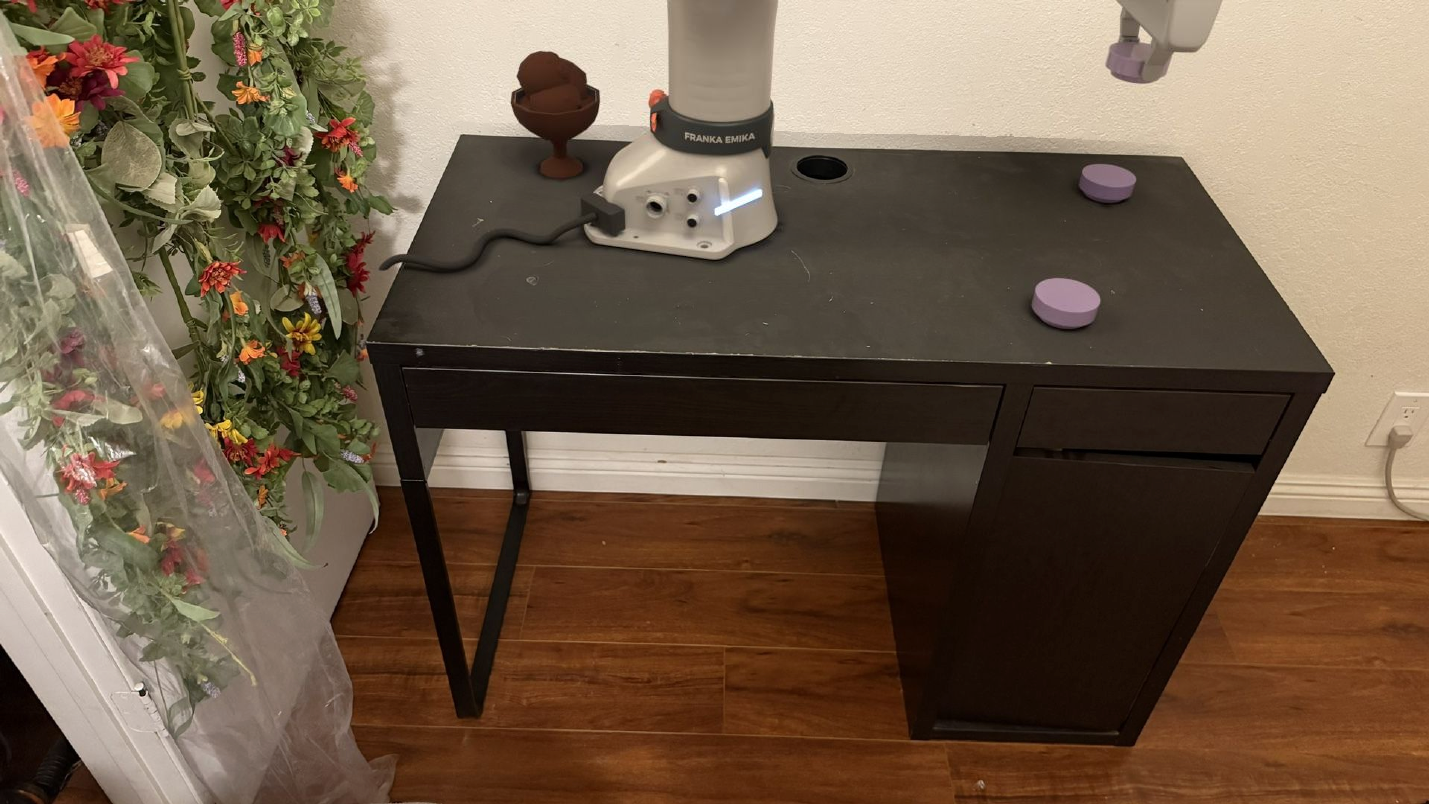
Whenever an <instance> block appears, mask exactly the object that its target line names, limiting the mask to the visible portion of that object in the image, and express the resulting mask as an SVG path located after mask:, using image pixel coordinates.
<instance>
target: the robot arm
mask: <svg viewBox="0 0 1429 804" xmlns="http://www.w3.org/2000/svg"><path fill="white" fill-rule="evenodd" d="M1115 2H1117V4H1118V5H1120V6H1121V7H1122V8H1121V10H1120V13H1119V14H1120V15H1119V37H1118V40H1117V42H1140V41H1141V38H1140V37H1139V34H1140V29H1141V28H1142V29H1143V30H1144V31H1145V32H1146V33H1147V35H1149V37H1150V38H1151V41H1150V43H1149V44H1150V47H1151V50H1150V52H1149V54H1148V56H1147V58H1146V59H1142V62H1141V67H1140V69H1139V75H1140V76H1141V77H1142V79H1143V80H1144V81H1154V82H1157V81H1159V80H1160V79H1161V78H1160V76H1161V73H1162V70H1163V67H1164V65H1165V64H1166V62H1167V61H1168V60H1169V58H1170V57H1171V56H1172V57H1173V55H1174V53H1183V54H1184V53H1185V54H1187V53H1189V54H1192V53H1197V52H1199V51H1200V49H1202V48H1203V46H1204V45H1205V44H1206V42H1207V41H1208V38H1209V37H1210V34H1211V33H1212V29H1213V27H1214V25H1215V22H1216V19H1217V17H1218V15H1219V11H1220V8H1221V6H1222V3H1223V0H1115ZM666 3H667V4H666V5H667V7H666V8H667V35H668V36H667V42H668V43H667V53H668V54H667V58H668V59H667V64H668V66H667V70H668V71H667V72H668V74H667V75H668V76H667V77H668V79H667V81H668V82H667V83H668V94H666V93H665V91H664V90H663V89H660V88H657V89H653V90H652V91H651V93H650V94H649V97H648V103H647V104H648V107H649V131H647V132H646V133H644V134H643V135H641V136H639V137H638V138H637V139H635V140H634V141H632V142H630V143H629V144H628V145H626V146H625V147H623V148H622V149H620V150H618V152H616V154H615V155H613V156H614V157H613V158H612V159H611V161H610V162H609V164H608V167H607V169H606V172H605V175H604V179H603V182H602V183H603V184H602V185H600V186H599V187H598V188H596V189H595V190H594V191H593V192H592V193H590V194H587V195H584V196H582V197H580V208H581V217H578V218H576V219H572V220H570V221H567V222H566V223H564V224H561V225H560V226H558V227H557V228H556V229H554V230H553V231H552V232H551V233H549V234H547V235H543V236H541V235H532V234H528V233H526V232H523V231H520V230H517V229H513V228H507V227H506V228H505V227H504V228H503V227H501V228H495V229H492V230H489V231H487V232H485V233H484V234H483V235H481V236H480V237H479V238H478V240H477V241H476V243H475V245H474V248H473V249H472V251H471V253H470V254H469V255H468V256H466V257H465V258H462V259H459V260H455V261H442V260H436V259H432V258H428V257H425V256H422V255H417V254H411V253H399V254H395V255H392V256H390V257H388V258H386V259H385V261H383V262H382V263H381V264H380V266H379V267H378V271H381V272H385V271H388V270H389V269H390V268H391V267H393V266H395V265H398V264H400V263H411V264H415V265H420V266H424V267H428V268H430V269H435V270H441V271H457V270H462V269H464V268H467V267H469V266H471V265H472V264H474V263H475V262H476V261H477V260H478V259H479V257H480V256H481V254H482V252H483V250H484V248H485V246H486V244H487V243H488V242H490V241H491V240H492V239H496V238H500V237H501V238H502V237H509V238H514V239H516V240H520V241H522V242H525V243H529V244H533V245H547V244H551V243H553V242H555V241H556V240H558V239H559V238H560V237H561V236H563V235H564V234H565V233H567V232H570V231H572V230H574V229H577V228H579V227H581V226H583V230H584V232H585V234H586V236H587V237H588V239H589V240H590V241H591V242H592V243H594V244H597V245H604V246H611V247H617V248H618V247H619V248H625V249H633V250H639V251H647V252H654V253H655V252H656V253H661V254H669V255H675V256H676V255H677V256H684V257H685V256H686V257H690V258H691V257H692V258H698V259H706V260H714V261H715V260H721V259H725V258H726V257H727V256H729V255H730V254H732V253H733V252H735V251H736V250H738V249H740V248H743V247H747V246H749V245H753V244H756V243H757V242H761V241H762V240H764V239H765V238H767V237H768V236H770V235H771V234H772V233H773V232H774V231H775V229H776V228H777V225H778V220H779V219H778V215H777V211H776V206H775V201H774V197H773V191H772V182H771V169H770V156H771V153H772V149H773V146H774V137H775V136H774V135H775V110H774V101H773V100H772V99H771V96H772V94H771V93H772V81H773V80H772V79H773V65H774V64H773V61H774V48H775V47H774V45H775V33H776V32H775V31H776V24H777V23H776V22H777V15H778V7H779V0H666Z"/></svg>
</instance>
